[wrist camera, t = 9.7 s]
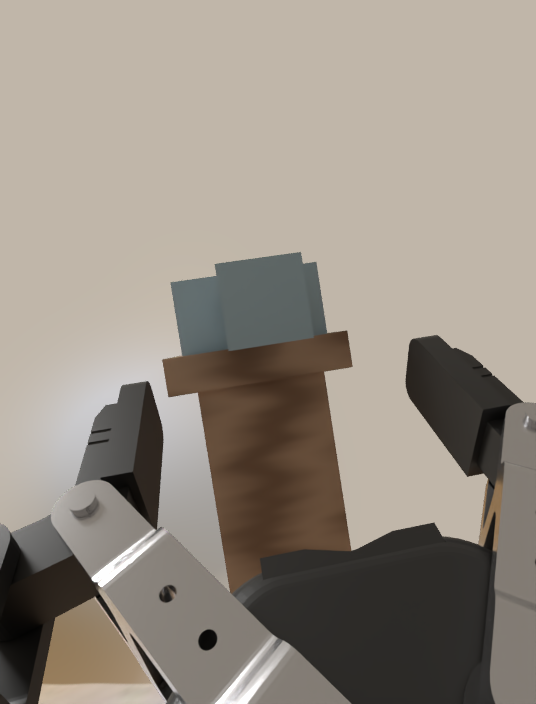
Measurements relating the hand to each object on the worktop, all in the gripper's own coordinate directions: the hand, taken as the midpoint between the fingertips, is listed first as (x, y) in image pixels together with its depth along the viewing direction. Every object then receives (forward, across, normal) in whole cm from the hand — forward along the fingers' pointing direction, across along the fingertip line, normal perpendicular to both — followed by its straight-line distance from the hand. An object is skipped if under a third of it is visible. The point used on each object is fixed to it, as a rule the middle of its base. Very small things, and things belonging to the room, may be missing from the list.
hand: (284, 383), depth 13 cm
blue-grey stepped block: (+9, 0, +4) cm, 10 cm away
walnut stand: (-3, 0, +32) cm, 32 cm away
